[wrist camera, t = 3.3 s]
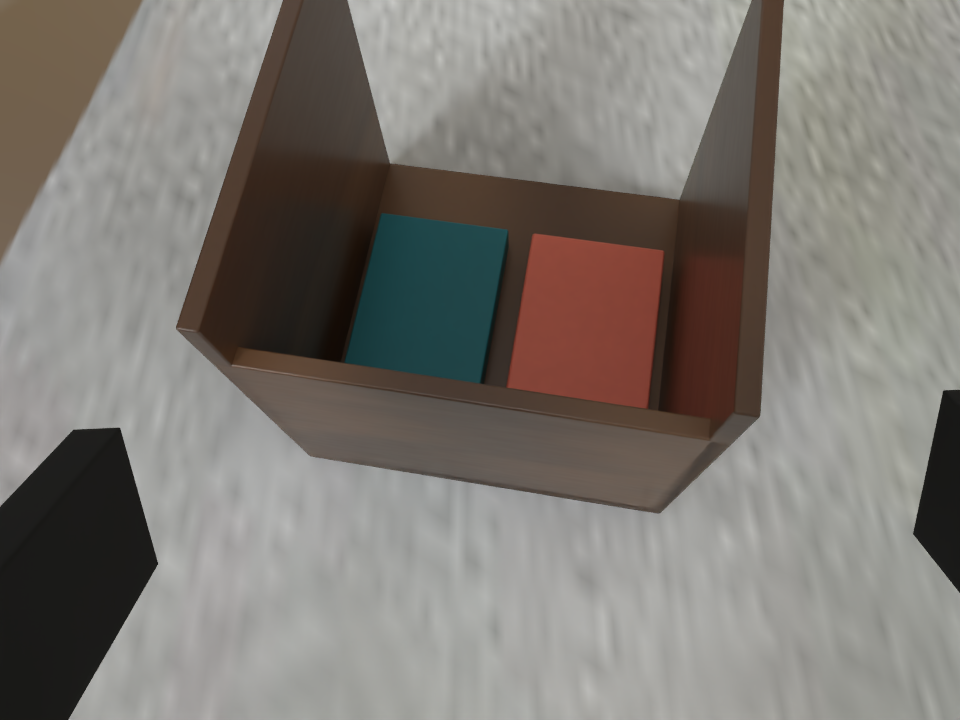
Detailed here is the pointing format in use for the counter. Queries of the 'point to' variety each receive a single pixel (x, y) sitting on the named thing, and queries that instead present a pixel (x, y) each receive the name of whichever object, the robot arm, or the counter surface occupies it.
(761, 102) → the brown wooden open box
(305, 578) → the counter surface
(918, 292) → the counter surface
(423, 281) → the packet teal
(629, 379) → the packet coral
